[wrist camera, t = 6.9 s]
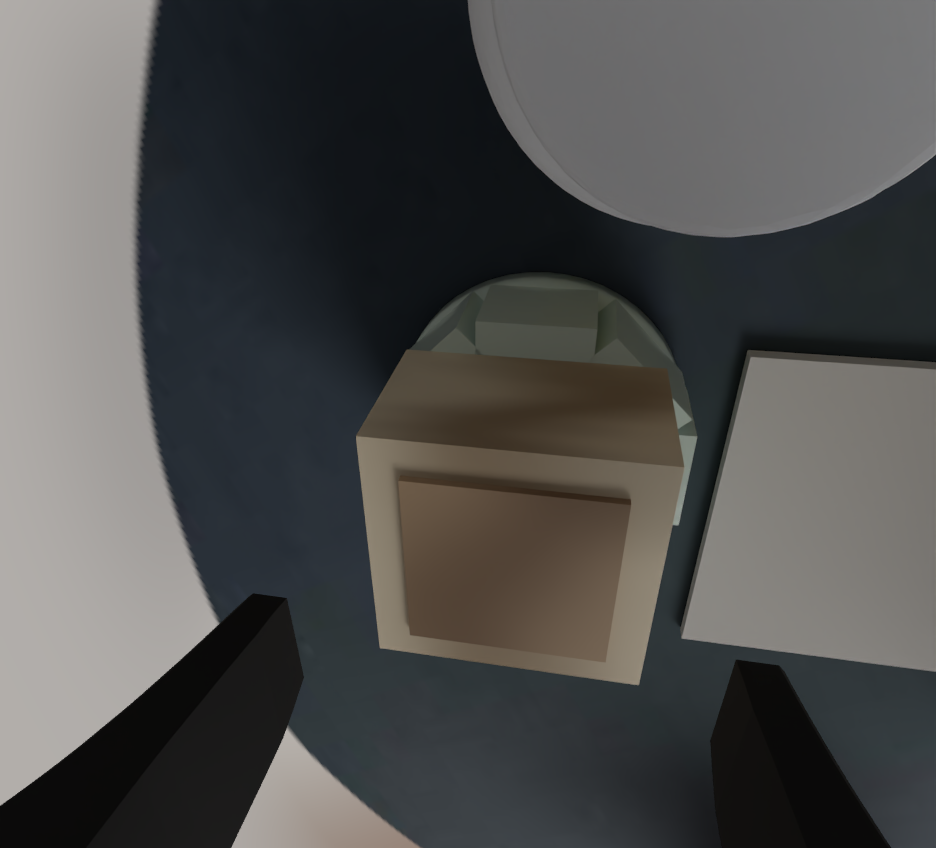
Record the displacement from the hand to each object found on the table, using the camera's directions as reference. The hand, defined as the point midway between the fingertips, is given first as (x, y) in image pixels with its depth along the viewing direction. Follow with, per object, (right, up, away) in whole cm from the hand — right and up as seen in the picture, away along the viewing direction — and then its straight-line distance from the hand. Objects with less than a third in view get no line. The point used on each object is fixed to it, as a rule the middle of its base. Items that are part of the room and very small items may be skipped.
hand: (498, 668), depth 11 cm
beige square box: (+1, +3, +5) cm, 6 cm away
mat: (+11, +1, +7) cm, 13 cm away
